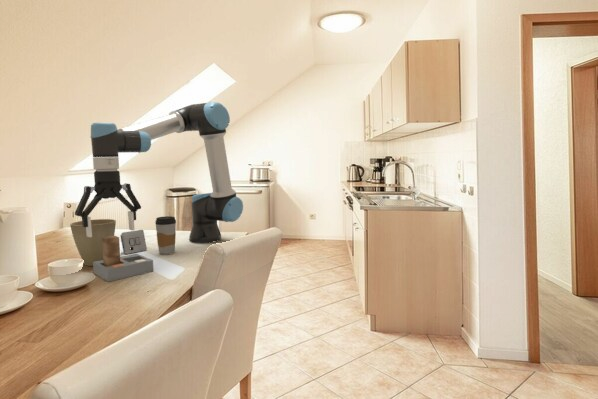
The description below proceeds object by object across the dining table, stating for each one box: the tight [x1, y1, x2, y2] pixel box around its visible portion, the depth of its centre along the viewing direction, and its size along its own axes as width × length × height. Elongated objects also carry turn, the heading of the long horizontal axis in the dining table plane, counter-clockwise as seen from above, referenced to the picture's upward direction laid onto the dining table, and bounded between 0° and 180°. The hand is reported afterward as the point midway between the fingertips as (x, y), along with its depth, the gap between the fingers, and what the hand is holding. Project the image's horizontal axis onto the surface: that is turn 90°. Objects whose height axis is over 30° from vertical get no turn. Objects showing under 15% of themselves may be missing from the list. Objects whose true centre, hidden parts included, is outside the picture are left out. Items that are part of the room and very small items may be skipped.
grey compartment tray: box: [92, 253, 154, 282], centre depth 124 cm, size 15×13×4 cm
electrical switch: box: [120, 229, 148, 255], centre depth 153 cm, size 9×5×9 cm, turn 141°
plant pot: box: [69, 218, 117, 267], centre depth 135 cm, size 15×15×16 cm
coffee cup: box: [154, 215, 177, 255], centre depth 151 cm, size 8×8×15 cm
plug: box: [102, 235, 121, 267], centre depth 121 cm, size 4×4×12 cm
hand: (111, 233), depth 121 cm, fingers open, 13 cm apart
